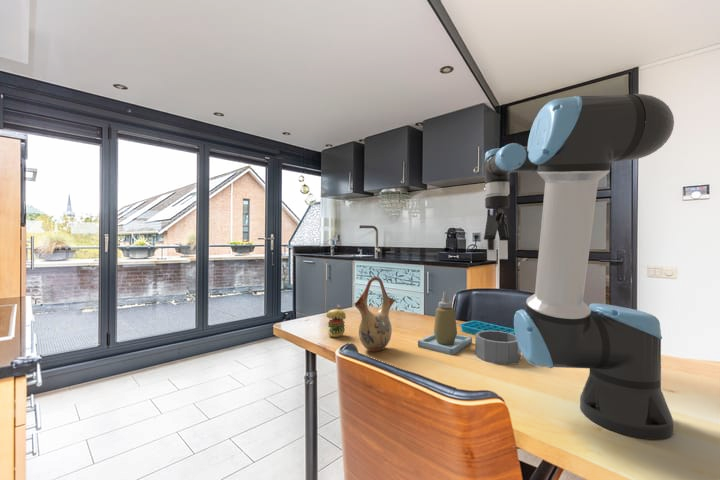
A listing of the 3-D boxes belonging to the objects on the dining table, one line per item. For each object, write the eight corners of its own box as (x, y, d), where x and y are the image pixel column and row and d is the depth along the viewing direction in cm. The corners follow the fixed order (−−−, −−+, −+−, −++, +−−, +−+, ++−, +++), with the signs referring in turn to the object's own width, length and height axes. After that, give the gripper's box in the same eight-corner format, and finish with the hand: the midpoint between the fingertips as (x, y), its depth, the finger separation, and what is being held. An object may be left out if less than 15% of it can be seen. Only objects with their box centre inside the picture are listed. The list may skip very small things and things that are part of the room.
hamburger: (324, 337, 125) (323, 306, 125) (329, 332, 132) (329, 303, 132) (343, 339, 123) (343, 307, 123) (348, 333, 130) (347, 303, 130)
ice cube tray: (474, 327, 140) (474, 320, 140) (520, 338, 124) (520, 330, 124) (457, 331, 133) (457, 324, 133) (504, 344, 117) (504, 336, 117)
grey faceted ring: (513, 367, 95) (512, 345, 95) (469, 357, 103) (469, 337, 103) (524, 355, 105) (524, 335, 105) (484, 347, 113) (484, 328, 113)
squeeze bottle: (459, 341, 117) (459, 291, 117) (453, 347, 110) (453, 294, 110) (438, 337, 121) (437, 289, 121) (430, 343, 114) (430, 293, 114)
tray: (452, 355, 106) (452, 349, 106) (417, 346, 114) (417, 341, 114) (472, 343, 118) (471, 337, 118) (439, 336, 126) (439, 331, 126)
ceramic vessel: (362, 358, 103) (361, 279, 103) (348, 350, 111) (347, 277, 111) (402, 349, 111) (402, 276, 111) (387, 342, 119) (386, 274, 119)
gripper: (496, 201, 121) (496, 258, 121) (473, 192, 101) (473, 260, 101) (517, 199, 116) (518, 258, 116) (498, 190, 97) (499, 261, 96)
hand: (497, 259), depth 108 cm, fingers open, 13 cm apart
